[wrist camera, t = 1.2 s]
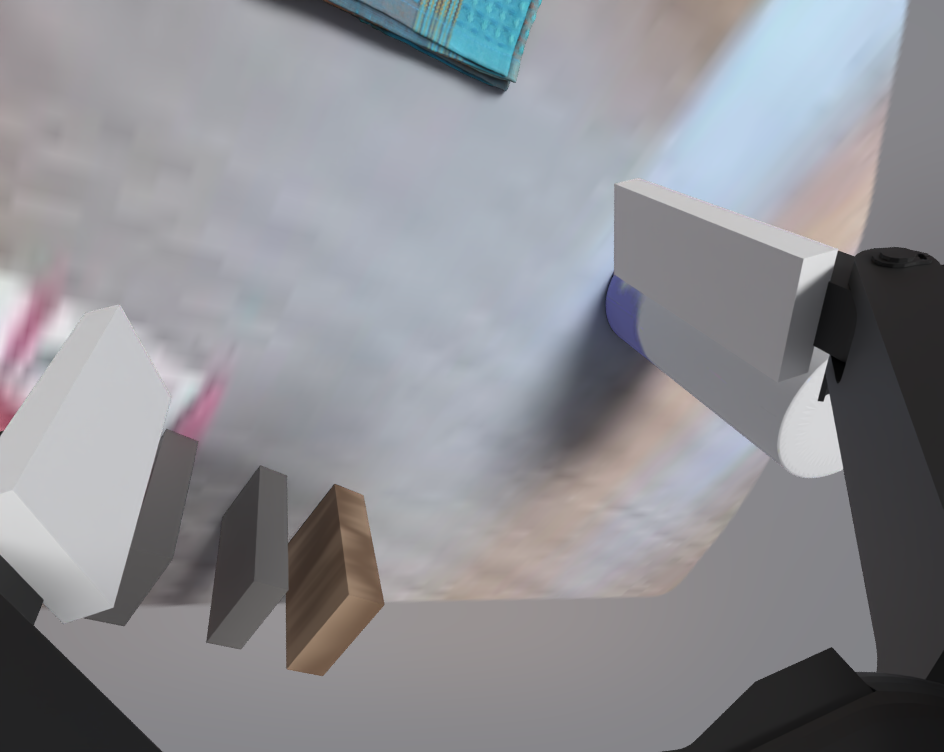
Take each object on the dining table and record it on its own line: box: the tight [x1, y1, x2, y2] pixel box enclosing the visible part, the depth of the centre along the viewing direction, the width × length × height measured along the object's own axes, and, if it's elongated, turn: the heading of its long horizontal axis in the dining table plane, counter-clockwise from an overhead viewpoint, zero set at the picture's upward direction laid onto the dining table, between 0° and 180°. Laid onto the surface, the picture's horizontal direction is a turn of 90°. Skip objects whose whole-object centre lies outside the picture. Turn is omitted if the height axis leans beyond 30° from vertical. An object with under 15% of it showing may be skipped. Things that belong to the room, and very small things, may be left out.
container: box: [606, 275, 843, 478], centre depth 40 cm, size 10×10×20 cm
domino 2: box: [206, 466, 289, 649], centre depth 41 cm, size 2×6×12 cm, turn 140°
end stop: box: [286, 484, 384, 676], centre depth 44 cm, size 3×8×12 cm, turn 140°
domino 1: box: [84, 429, 198, 626], centre depth 37 cm, size 2×6×12 cm, turn 140°
